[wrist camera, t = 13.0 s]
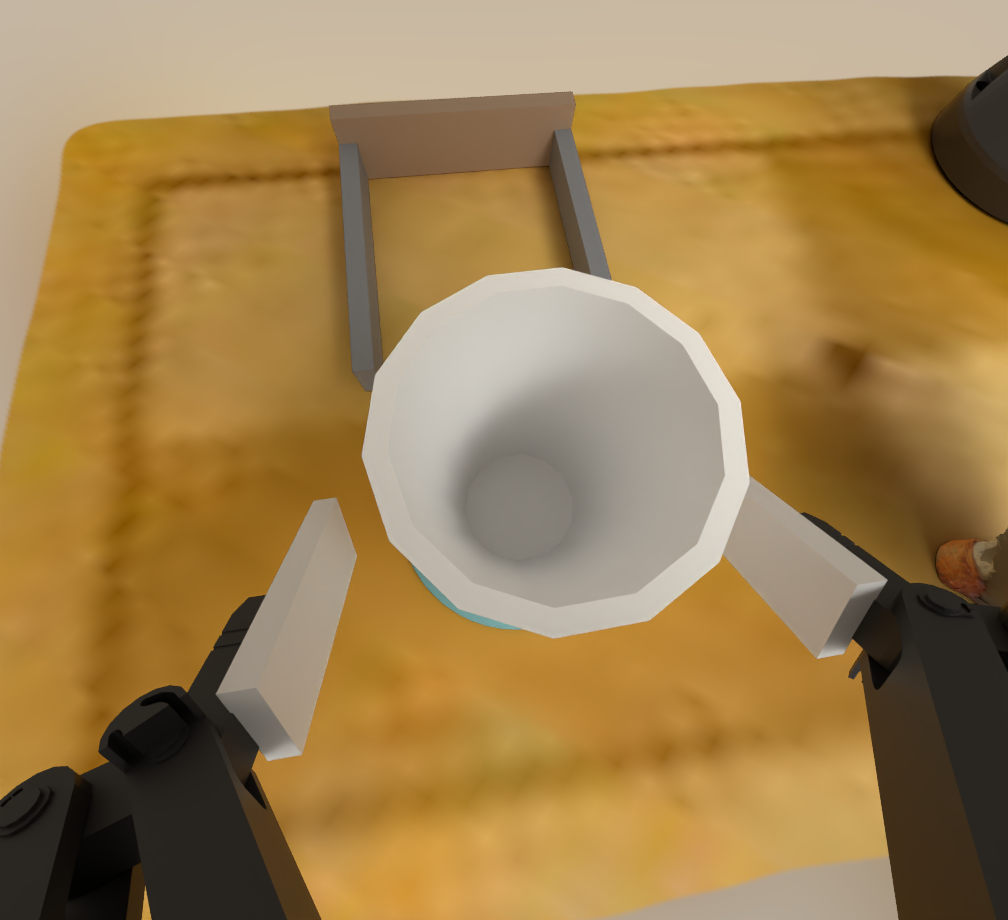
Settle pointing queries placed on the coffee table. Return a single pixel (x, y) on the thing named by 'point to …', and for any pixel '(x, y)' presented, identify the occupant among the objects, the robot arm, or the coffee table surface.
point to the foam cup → (556, 451)
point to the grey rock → (976, 569)
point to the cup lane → (450, 149)
